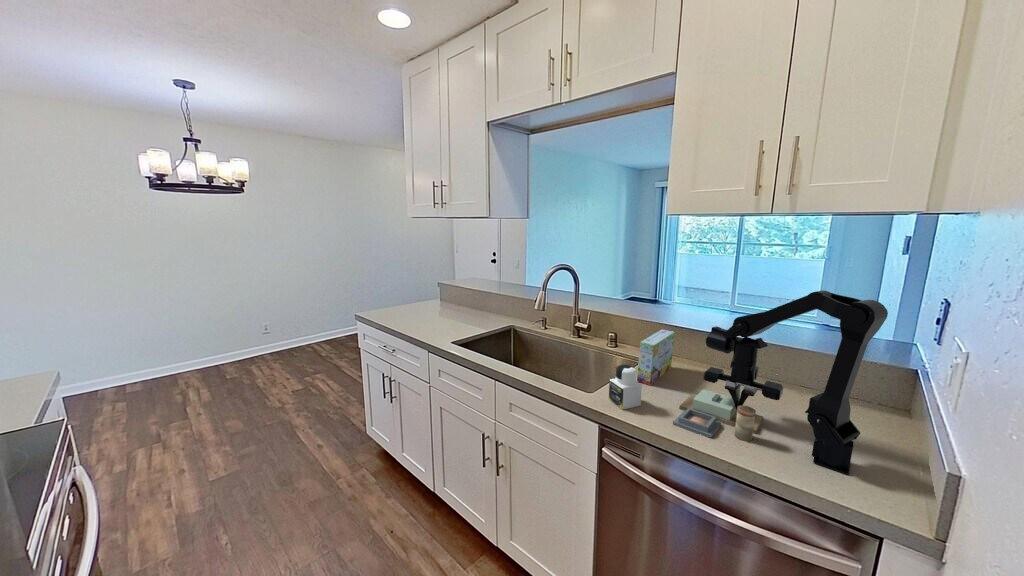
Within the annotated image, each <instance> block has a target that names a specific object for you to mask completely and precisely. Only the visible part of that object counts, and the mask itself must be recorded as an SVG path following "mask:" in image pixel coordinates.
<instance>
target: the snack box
mask: <svg viewBox="0 0 1024 576" xmlns="http://www.w3.org/2000/svg"><path fill="white" fill-rule="evenodd" d="M675 332H676V331H670V330H667V329H660V330H658V331H656V332H655V333H653V334H651V335H650V336H648V337H646V338H645V339H642V340H641V341H640V343H639V344H640V345H639V353H638V354H639V355H638V362H637V363H638V365H637V374H636V381H637V382H638V383H640V384H643V385H647V386H651V385H653V384H654V383H655V382H656V381H657V380H659V379H660V378H661V377H663V376H664V375H665V374H666V373H667V372H669V371H670V370H671V369H672V364H673V363H672V360H673V352H674V351H673V350H674V342H675V335H676V334H675Z"/></svg>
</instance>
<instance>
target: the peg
mask: <svg viewBox="0 0 1024 576" xmlns="http://www.w3.org/2000/svg"><path fill="white" fill-rule="evenodd" d="M755 414H757V411H756V410H755V409H754V408H753V407H751V406H748V405H743V406H738V407H737V418H736V426H735V427H734V437H735V438H736V439H737V440H739V441H743V442H752V441H753V435H754V433H753V428H754V420H755Z"/></svg>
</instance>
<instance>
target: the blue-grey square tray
mask: <svg viewBox="0 0 1024 576" xmlns="http://www.w3.org/2000/svg"><path fill="white" fill-rule="evenodd" d="M672 425H673V426H676V427H679V428H682V429H685V430H687V431H690V432H693V433H695V434H697V435H698V434H699V435H700V434H701V435H700V436H703V437H707V438H709V439H712V438H714V436H715V434H716V433H717V431H719V428H720V427H721V426H722V423H721V422H718V421H716V417H715V416H712V415H709V414H706V413H703V412H700V411H697V410H693V409H690V408H688V409H687V410H686V411H685V410H682V412H681V413H680V414H679V415H678V416H677V417H676V419H674V420H673V422H672Z"/></svg>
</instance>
